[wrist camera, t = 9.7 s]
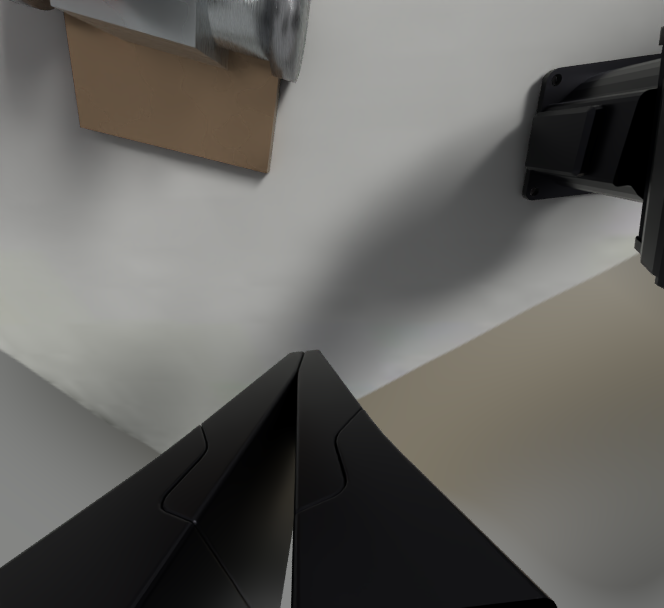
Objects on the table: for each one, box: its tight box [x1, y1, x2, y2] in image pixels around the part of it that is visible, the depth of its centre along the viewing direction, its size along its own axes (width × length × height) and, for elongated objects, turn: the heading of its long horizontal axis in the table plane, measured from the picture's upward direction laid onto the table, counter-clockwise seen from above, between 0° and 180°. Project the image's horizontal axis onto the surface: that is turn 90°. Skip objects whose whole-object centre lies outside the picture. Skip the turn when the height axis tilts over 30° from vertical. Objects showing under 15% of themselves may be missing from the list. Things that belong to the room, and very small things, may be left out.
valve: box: [10, 0, 310, 173], centre depth 12 cm, size 12×9×7 cm
